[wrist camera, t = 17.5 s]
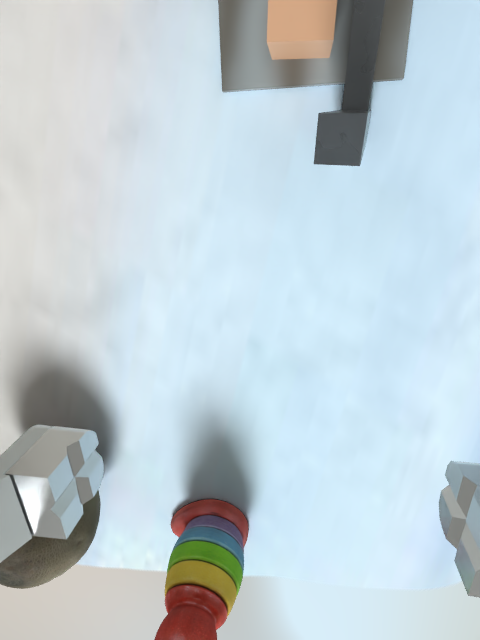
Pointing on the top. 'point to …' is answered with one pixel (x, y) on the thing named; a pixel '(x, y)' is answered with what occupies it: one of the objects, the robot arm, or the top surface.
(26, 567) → the cantaloupe
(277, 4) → the block
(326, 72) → the wooden tray
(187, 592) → the stacking bear
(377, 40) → the hook tool
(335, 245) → the top surface
